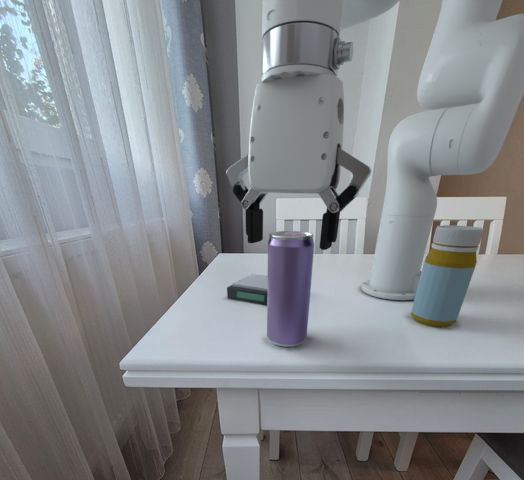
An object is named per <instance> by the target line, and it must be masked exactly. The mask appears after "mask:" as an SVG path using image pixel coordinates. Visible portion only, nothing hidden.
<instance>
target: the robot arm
mask: <svg viewBox="0 0 524 480" xmlns="http://www.w3.org/2000/svg"><path fill="white" fill-rule="evenodd" d="M261 1H262V2H261V3H262V4H261V7H262V8H261V9H262V10H261V75H260V76H261V79H260V80H261V82H258V83H256V85H255V91H254V95H253V102H252V108H251V117H250V123H249V124H250V126H249V137H248V153H247V154H246V155H244V156H243V157H241V158H240V159H238V160H237V161H236V162H235V163H233V164H232V165H230V166H229V167H228V168H227V169H226V176H227V179H228V181H229V183H230V187H231V188H232V192H233V194H234V196H235V197H236V199H237V200H238V201H239V202H240V205H241V208H242V209H243V210H245V234H246V236H247V243H248V244H256V243H259V242H261V241H263V238H264V210H263V208H260V206H261V204H262V203H263V201H264V200H265V199H266V197H267V195H268V194H269V193H272V194H273V193H275V194H276V193H277V194H279V193H280V194H318V195H319V197H320V198H321V200H322V201H323V203H324V205H325V206H326V211H325V212H324V213H323V214H322V218H321V219H322V220H321V229H320V239H319V249H320V250H321V251H326V250H329V249H330V248H331V247H332V245H333V243H336V241H337V239H338V232H339V231H338V230H339V224H340V215H341V212H342V211H344V209H345V208H346V207H347V206H348V205H349V204H350V203H352V201H353V200H354V199H356V198H357V197H358V196H359V193H360V191H361V190H362V188H363V187H364V185H365V184H366V182H367V181H368V179H369V178H370V176H371V174H372V168H371V166H369V165H367V164H366V163H364V162H363V161H361V160H359V159H358V158H356V157H355V156H353V155H351V154H350V153H348V152H346V151H345V150H343V145H344V144H343V143H344V126H345V124H344V123H345V93H344V82H343V80H342V79H340V78H339V77H338V73H339V70H340V68H341V66H343V65H344V64H345V63H349V62H352V60H353V55H354V42H353V41H348V42H346V41H345V40H341V37H340V34H341V31H343V30H345V29H349V28H352V27H355V26H357V25H360V24H362V23H364V22H368V21H370V20H372V19H375V18H377V17H379V16H381V15H383V14H385V13H387V12H388V11H390V10H391V9H392V8H393V7H395V6H397V4H398V3H399V2H400V1H401V0H261ZM502 3H503V0H441V8H440V11H439V16H438V19H437V22H436V25H435V29H434V31H433V35H432V39H431V41H430V44H429V47H428V50H427V53H426V57H425V59H424V63H423V66H422V69H421V72H420V75H419V78H418V83H417V88H416V89H417V90H416V98H417V99H416V100H417V102H418V104H419V105H420V107H422V108H423V109H427V110H423V111H420V112H416V113H413V114H410V115H408V116H407V117H405V118H403V119H402V120H401V121H399V122H398V123H397V124H396V126H395V127H394V128H393V130H392V131H391V134H390V137H389V139H388V145H387V163H386V164H387V165H386V167H387V170H386V185H385V191H384V192H385V193H384V199H383V206H382V211H381V215H380V222H379V227H378V233H377V238H376V243H375V250H374V254H373V260H372V266H371V272H370V277H369V279H368V280H365V281H363V282H362V283H361V287H360V290H361V291H362V292H363V293H365V294H366V295H369V296H372V297H375V298H378V299H384V300H390V301H414V299H415V296H416V292H417V288H418V284H419V280H420V277H421V273H422V265H423V263H424V257H425V253H426V249H427V246H428V243H429V238H430V234H431V231H432V227H433V223H434V219H435V215H436V212H437V207H438V198H437V194H436V191H435V188H434V187H433V184H432V182H431V180H430V178H431V177H437V176H468V175H476V174H480V173H483V172H485V171H486V170H488V169H489V168H490V167H491V166H492V165H493V163H494V162H495V161H496V159H497V157H498V155H499V154H500V152H501V150H502V148H503V145H504V143H505V141H506V138H507V135H508V134H509V131H510V128H511V126H512V124H513V120H514V118H515V117H516V113H517V111H518V109H519V107H520V106H519V105H520V103H521V102H522V101H521V100H522V98H523V95H524V12H523V13H518V14H514V15H509V16H506V17H504V18H500V19H497V17H498V14H499V12H500V9H501V6H502ZM342 168H344V169H346V170H347V171H349V172H350V173H351V174H352V178H351V180H350V182H349V184H348V186H347V187H346V188H345V189H343V191H342V192H341V193H340V194H339V193H338V191H337V190H336V189H338V187H339V184H340V179H341V172H342ZM246 173H248V183H249V187H250V188H248V187H247V186H246V185H245V183H244V180H243V176H244V175H245V174H246Z"/></svg>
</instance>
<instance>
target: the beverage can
mask: <svg viewBox="0 0 524 480" xmlns="http://www.w3.org/2000/svg"><path fill="white" fill-rule="evenodd" d="M268 236H269V238H268V241H267V276H268V281H267V305H266V337H267V338H268V340H269V342H270V343H272V344H273V345H275V346H278V347H282V348H293V347H297V346H300V345H302V344H303V343H304V342H305V341H306V339H307V337H308V324H309V315H310V313H309V312H310V304H311V303H310V300H311V290H312V276H313V266H314V265H313V264H314V252H315V241H314V236H315V235H314V233H312V232H309V231H301V230H300V231H298V230H283V231H282V230H279V231H272V232H270V233H269V235H268Z"/></svg>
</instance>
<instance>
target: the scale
mask: <svg viewBox="0 0 524 480" xmlns="http://www.w3.org/2000/svg"><path fill="white" fill-rule="evenodd" d="M267 281H268V275H264V274H263V275H262V274H256V273H251V274H249V275H246V276H245V277H243V278H241V279H239V280H237V281H235V282H233V283H232V284H231V285H229V286H227V287H226V294H227V295H226V296H227V297H226V298H227V299H228V300H235V301H239V302H246V303H251V304H258V305H262V306H267Z"/></svg>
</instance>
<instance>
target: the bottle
mask: <svg viewBox="0 0 524 480" xmlns="http://www.w3.org/2000/svg"><path fill="white" fill-rule="evenodd" d="M484 233H485V228H483V227H479V226H470V225H453V224H452V225H449V224H447V225H446V224H444V225H437V226H436V228H435V231H434V235H433V238H432V239H433V240H432V241H433V242H432V243H431V245H430V246H431V249H429V251H428V252H427V255H426V256H425V259H424V260H423V264H422V265H423V266H422V268H421V277H420V280H419V284H418V288H417V292H416V296H415V299H413V304H412V306H411V311H410V315H411V317H412V319H413V320H414V321H415V322H416V323H419V324H421V325H424V326H426V327H433V328H447V327H450V326H452V325H454V324H456V323H457V320H458V318H459V315H460V313H461V310H462V306H463V305H464V302H465V301H464V300H465V298H466V295H467V292H468V289H469V286H470V283H471V281H472V278H473V275H474V272H475V269H476V265H477V263H478V262H477V251H478V250H479V246H480V244H481V242H482V238H483V235H484Z"/></svg>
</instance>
